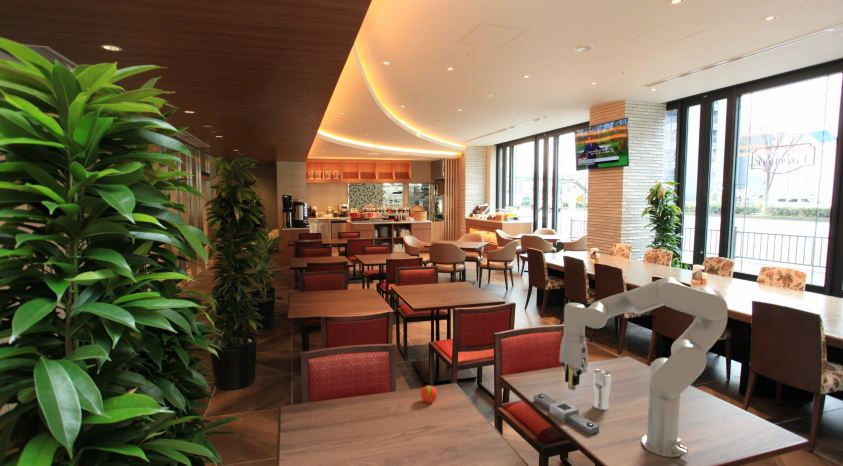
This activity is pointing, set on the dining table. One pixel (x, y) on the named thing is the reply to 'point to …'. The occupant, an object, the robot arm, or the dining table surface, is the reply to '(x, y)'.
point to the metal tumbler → (601, 388)
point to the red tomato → (428, 394)
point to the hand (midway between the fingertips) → (572, 382)
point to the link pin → (570, 374)
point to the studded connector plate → (567, 413)
